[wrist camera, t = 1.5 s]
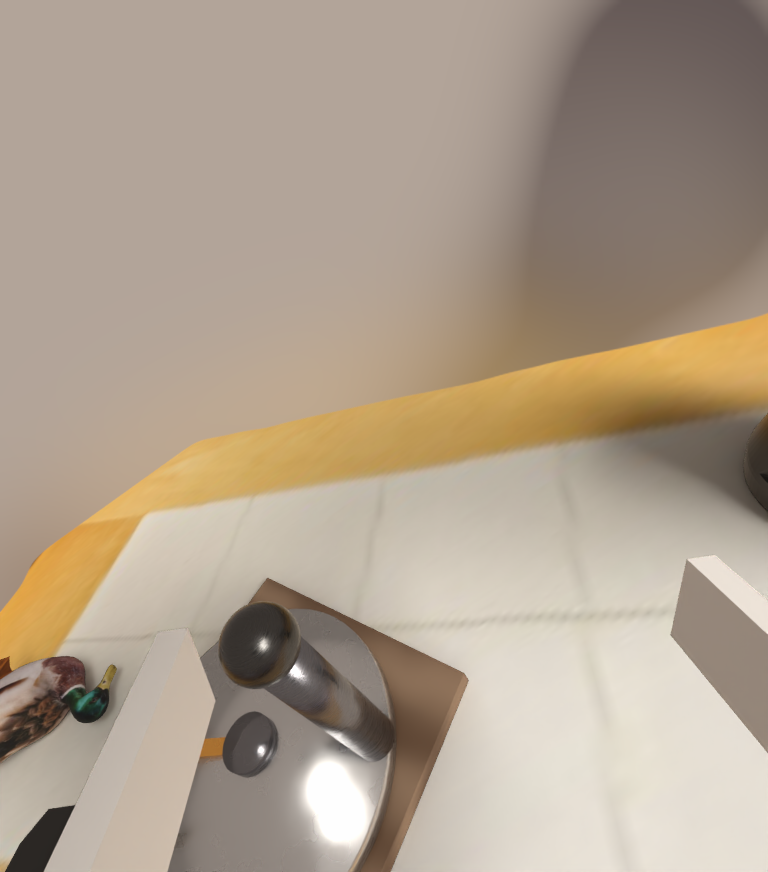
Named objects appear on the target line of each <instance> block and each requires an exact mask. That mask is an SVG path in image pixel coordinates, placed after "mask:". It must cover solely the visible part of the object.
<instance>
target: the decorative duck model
mask: <svg viewBox="0 0 768 872" xmlns="http://www.w3.org/2000/svg"><path fill="white" fill-rule="evenodd" d="M9 657H10V656H9ZM9 657H7V658H4V659H1V660H0V763H1V762H3V761H4V760H5V759H7V758H8V757H10V756H11V755H12V754H14V753H15V752H17V751H19V750H20V749H22V748H24V747H26V746H28V745H29V744H31V743H33V742H35V741H36V740H38V739H40V738H41V737H43V736H45V735H46V734H48V733H49V732H50V731H52V730H53V729H54V728H55V727H56V726H57V725H58V724H59V723H60V722H61V721H62V719H63V718H64V717H65V715H66V714H67V712H68V711H69V709H70V710H71V712H72V714H73V716H74V718H75V719H76V720H77V721H79V722H82V723H90V722H94V721H96V720H98V719H99V718H101V717H102V716H103V714H104V713H105V711H106V709H107V707H108V702H109V687H110V683H111V681H112V679H113V677H114V675H115V673H116V670H117V668H116V667H115V666H114V665H110V666H109V667H108V669H107V671H106V673H105V675H104V677H103V679H102V681H101V683H100V684H99V685H98V686H97V687H96V688H95V689H94V690H93V691H91V692H89V693H87V694H86V689H85V669H84V665H83V663H82V662H81V661H80V660H79V659H77V658H74V657H70V656H61V657H51V658H45V659H41V660H38V661H34V662H31V663H29V664H26V665H24V666H22V667H19V668H18V669H16V670H14V671H12V670H11V668H10V663H9Z"/></svg>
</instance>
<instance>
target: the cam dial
mask: <svg viewBox="0 0 768 872" xmlns="http://www.w3.org/2000/svg"><path fill="white" fill-rule="evenodd" d="M200 660H201V663H202V666H203V668H204V671H205V674H206V676H207V679H208V682H209V684H210V687H211V690H212V692H213V695H214V698H215V704H214V707H213V711H212V714H211V718H210V722H209V725H208V729H207V732H206V736H205V739H204V743H203V747H202V750H201V754H200V757H199V761H198V764H197V768H196V771H195V775H194V779H193V782H192V786H191V789H190V793H189V796H188V800H187V803H186V807H185V811H184V814H183V818H182V821H181V825H180V828H179V832H178V836H177V839H176V843H175V846H174V850H173V853H172V857H171V860H170V864H169V868H168V871H167V872H360V871H361V869H362V867H363V865H364V863H365V861H366V859H367V857H368V855H369V853H370V851H371V849H372V847H373V845H374V843H375V840H376V838H377V835H378V833H379V830H380V827H381V825H382V822H383V819H384V816H385V813H386V809H387V805H388V801H389V798H390V794H391V789H392V783H393V777H394V771H395V763H396V747H397V737H396V719H395V712H394V706H393V700H392V696H391V693H390V689H389V685H388V682H387V680H386V677H385V675H384V673H383V670H382V668H381V666H380V664H379V662H378V661H377V659H376V657H375V656H374V654H373V653H372V651H371V650H370V649H369V648H368V647H367V645H366V644H365V643H364V642H363V641H362V640H361V638H360V637H359V636H358V635H357V634H356V633H355V632H354V631H353V630H352V629H351V628H349V627H348V626H347V625H346V624H345V623H343V622H342V621H340V620H338V619H337V618H335V617H333V616H331V615H328V614H326V613H323V612H319V611H315V610H310V609H286V608H285V607H283V606H282V605H280V604H277V603H274V602H270V601H259V602H254V603H251V604H248V605H246V606H244V607H242V608H241V609H239V610H238V611H237V612H235V613H234V614H233V615H232V616H231V618H230V619H229V620H228V621H227V623H226V624H225V626H224V628H223V630H222V633H221V636H220V639H219V642H217V643H216V644H215V645H214V646H213V647H212V648H211V649H209V650H208V651H207V652H206V653H205V654H204V655H203V656H202V657H201V658H200Z"/></svg>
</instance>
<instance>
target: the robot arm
mask: <svg viewBox="0 0 768 872" xmlns="http://www.w3.org/2000/svg"><path fill="white" fill-rule="evenodd" d="M743 470H744V476H745V480H746V482H747V485H748V487H749V489H750V490H751V492H752V494H753V495H754V496H755V498H756V499H757V500H758V501H759V503H760V504H761V505H762V506H763V507H764V508H765V509H766V510H768V413H767V415H766V416H765V417H764V418H763V419H762V420H761V422H760V423H759V424H758V425H757V426H756V428H755V429H754V431H753V432H752V434H751V436H750V438H749V440H748V443H747V448H746V453H745V457H744V463H743ZM671 636H672V637H673V639H674V640H675V641H676V642H677V643H678V645H679V646H680V647H681V648H682V649H683V651H684V652H685V653H686V654H687V656H688V657H689V658H690V659H691V660H692V662H693V663H694V664H695V665H696V666H697V668H698V669H699V670H700V671H701V673H702V674H703V675H704V676H705V677H706V679H707V680H708V681H709V682H710V683H711V685H712V686H713V687H714V688H715V690H716V691H717V692H718V693H719V694H720V696H721V697H722V698H723V699H724V700H725V702H726V703H727V704H728V705H729V707H730V708H731V709H732V710H733V711H734V713H735V714H736V715H737V716H738V717H739V719H740V720H741V721H742V722H743V723H744V725H745V726H746V727H747V728H748V730H749V731H750V732H751V733H752V734H753V736H754V737H755V738H756V739H757V740H758V742H759V743H760V744H761V745H762V747H763V748H764V749H765V750H766V751H767V753H768V600H767V599H766V598H765V597H763V596H762V595H761V594H760V593H759V592H758V591H756V590H755V589H754V588H753V587H752V586H750V585H749V584H748V583H747V582H746V581H745V580H743V579H742V578H741V577H740V576H739V575H738V574H736V573H735V572H734V571H733V570H732V569H731V568H729V567H728V566H727V565H726V564H725V563H723V562H722V561H721V560H720V559H719V558H718V557H716V556H715V555H712V556H705V557H697V558H690V559H687V560H686V565H685V570H684V574H683V579H682V584H681V588H680V593H679V598H678V603H677V607H676V612H675V617H674V621H673V626H672V631H671ZM214 704H215V698H214V695H213V692H212V690H211V687H210V684H209V682H208V679H207V676H206V674H205V671H204V668H203V666H202V663H201V660H200V658H199V655H198V652H197V650H196V647H195V644H194V642H193V639H192V636H191V634H190V631H189V628H182V629H175V630H168V631H161V632H158V633H157V635H156V637H155V639H154V641H153V643H152V645H151V648H150V650H149V652H148V654H147V656H146V658H145V660H144V662H143V664H142V666H141V669H140V671H139V673H138V675H137V677H136V679H135V681H134V683H133V685H132V687H131V690H130V692H129V694H128V696H127V698H126V700H125V702H124V704H123V706H122V708H121V711H120V713H119V715H118V717H117V719H116V721H115V723H114V725H113V727H112V729H111V732H110V734H109V736H108V738H107V740H106V742H105V744H104V746H103V748H102V750H101V753H100V755H99V757H98V759H97V761H96V763H95V765H94V767H93V769H92V771H91V774H90V776H89V778H88V780H87V782H86V784H85V786H84V788H83V790H82V792H81V795H80V797H79V799H78V801H77V803H76V805H73V806H67V807H60V808H53V809H48V811H47V812H46V813H45V814H44V815H43V817H42V818H41V819H40V820H39V821H38V823H37V824H36V825H35V826H34V828H33V829H32V830H31V831H30V832H29V834H28V835H27V836H26V837H25V838H24V840H23V841H22V842H21V843H20V845H19V847H18V849H17V850H16V852H15V854H14V856H13V858H12V860H11V862H10V863H9V865H8V867H7V869H6V871H5V872H167V871H168V868H169V864H170V860H171V857H172V853H173V850H174V846H175V843H176V839H177V836H178V832H179V828H180V825H181V821H182V818H183V814H184V811H185V807H186V803H187V800H188V796H189V793H190V789H191V786H192V782H193V779H194V775H195V771H196V768H197V764H198V761H199V757H200V754H201V750H202V747H203V743H204V739H205V736H206V732H207V729H208V725H209V722H210V718H211V714H212V711H213V707H214Z"/></svg>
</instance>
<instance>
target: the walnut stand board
mask: <svg viewBox="0 0 768 872" xmlns="http://www.w3.org/2000/svg"><path fill="white" fill-rule="evenodd" d="M259 601H270V602H274V603H277V604H280V605H282V606H283V607H285V608H286V609H310V610H315V611H319V612H323V613H326V614H328V615H331V616H333V617H335V618H337V619H338V620H340V621H342V622H343V623H345V624H346V625H347V626H348V627H349V628H351V629H352V630H353V631H354V632H355V633H356V634H357V635H358V636H359V637H360V638H361V640H362V641H363V642H364V643H365V644H366V645H367V647H368V648H369V649H370V650H371V651H372V653H373V654H374V656H375V657H376V659H377V661H378V662H379V664H380V666H381V668H382V670H383V673H384V675H385V677H386V680H387V682H388V685H389V689H390V693H391V696H392V700H393V706H394V712H395V719H396V737H397V747H396V763H395V771H394V777H393V783H392V789H391V794H390V798H389V801H388V805H387V809H386V813H385V816H384V819H383V822H382V825H381V827H380V830H379V833H378V835H377V838H376V840H375V843H374V845H373V847H372V849H371V851H370V853H369V855H368V857H367V859H366V861H365V863H364V865H363V867H362V869H361V871H360V872H391V869H392V867H393V864H394V862H395V859H396V857H397V855H398V852H399V850H400V847H401V845H402V842H403V840H404V837H405V835H406V833H407V830H408V828H409V825H410V823H411V820H412V818H413V815H414V813H415V811H416V808H417V806H418V803H419V801H420V798H421V796H422V793H423V791H424V789H425V786H426V784H427V781H428V779H429V776H430V774H431V771H432V769H433V767H434V764H435V762H436V759H437V757H438V754H439V752H440V749H441V747H442V745H443V742H444V740H445V737H446V735H447V732H448V730H449V727H450V725H451V723H452V720H453V718H454V715H455V713H456V710H457V708H458V705H459V703H460V701H461V698H462V696H463V693H464V691H465V688H466V686H467V683H468V681H469V680H468V678H467V677H466V675H465V674H464V673H463V672H461V671H459V670H457V669H454V668H452V667H450V666H448V665H446V664H444V663H442V662H440V661H438V660H436V659H434V658H432V657H430V656H428V655H426V654H424V653H421V652H419V651H417V650H415V649H413V648H411V647H409V646H407V645H405V644H403V643H401V642H399V641H397V640H395V639H393V638H391V637H388V636H386V635H384V634H382V633H380V632H378V631H376V630H374V629H372V628H370V627H368V626H366V625H364V624H362V623H360V622H358V621H355V620H353V619H351V618H349V617H347V616H345V615H343V614H341V613H339V612H337V611H335V610H333V609H331V608H329V607H327V606H325V605H322V604H320V603H318V602H316V601H314V600H312V599H310V598H308V597H306V596H304V595H302V594H300V593H298V592H296V591H294V590H292V589H289V588H287V587H285V586H283V585H281V584H279V583H277V582H275V581H273V580H271V579H269V578H267V579H266V581H265V582H264V583H263V585H262V586H261V587H260V589H259V590H258V592H257V593H256V594H255V596H254V597H253V598H252V600H251V601H250V602H249V604H251V603H254V602H259Z"/></svg>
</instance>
